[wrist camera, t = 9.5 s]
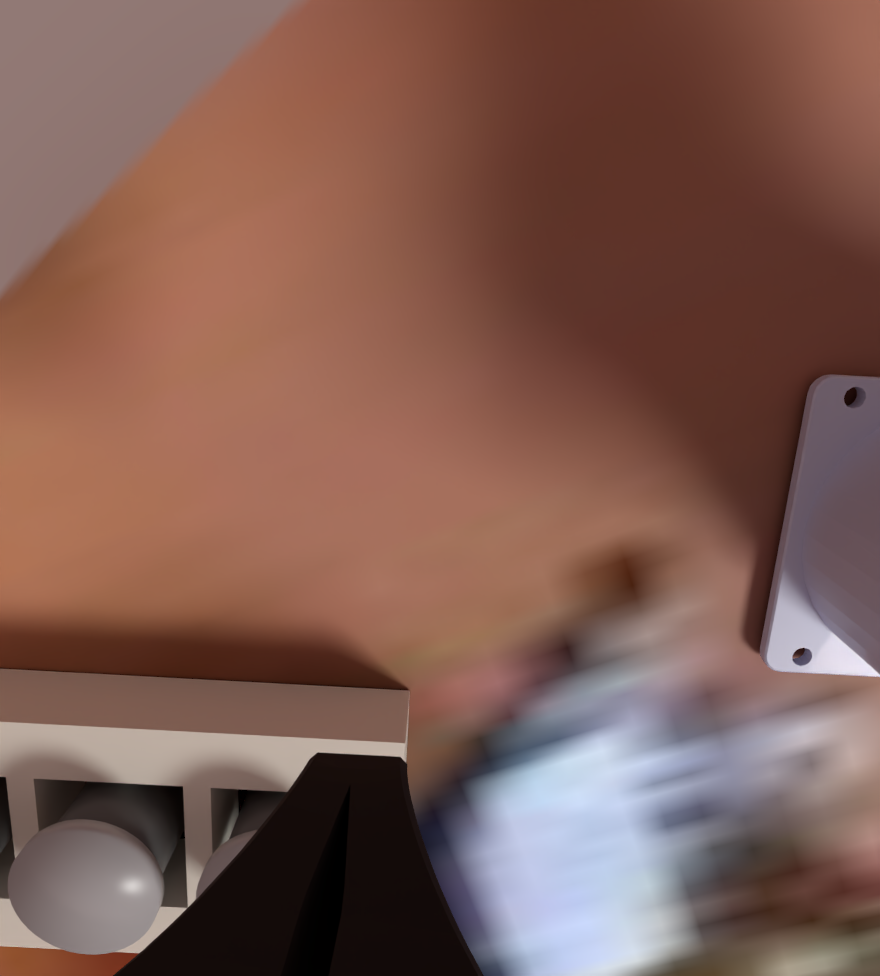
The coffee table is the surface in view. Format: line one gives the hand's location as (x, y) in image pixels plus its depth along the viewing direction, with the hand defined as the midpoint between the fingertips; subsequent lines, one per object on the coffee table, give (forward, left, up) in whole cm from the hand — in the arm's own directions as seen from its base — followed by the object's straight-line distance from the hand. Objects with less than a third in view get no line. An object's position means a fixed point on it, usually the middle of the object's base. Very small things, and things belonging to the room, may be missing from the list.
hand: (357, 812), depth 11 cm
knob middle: (+7, +7, -9) cm, 13 cm away
